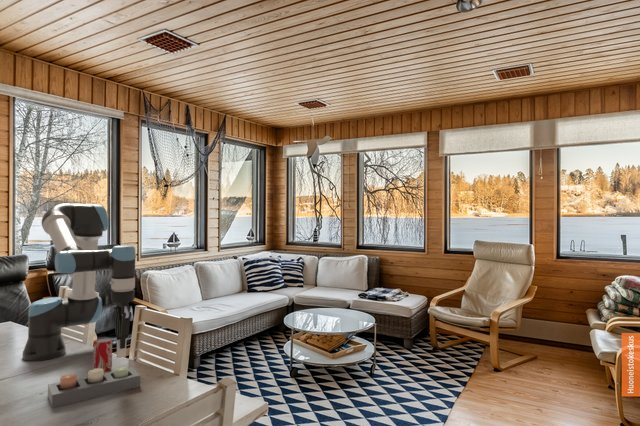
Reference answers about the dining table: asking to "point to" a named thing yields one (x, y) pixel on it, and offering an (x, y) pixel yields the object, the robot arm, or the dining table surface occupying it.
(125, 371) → the button sage
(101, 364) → the beverage can
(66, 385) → the button rust
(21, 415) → the dining table surface
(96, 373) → the button cream
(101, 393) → the grey slotted tray
